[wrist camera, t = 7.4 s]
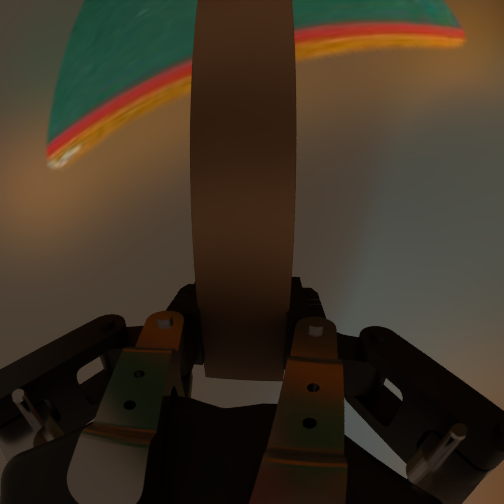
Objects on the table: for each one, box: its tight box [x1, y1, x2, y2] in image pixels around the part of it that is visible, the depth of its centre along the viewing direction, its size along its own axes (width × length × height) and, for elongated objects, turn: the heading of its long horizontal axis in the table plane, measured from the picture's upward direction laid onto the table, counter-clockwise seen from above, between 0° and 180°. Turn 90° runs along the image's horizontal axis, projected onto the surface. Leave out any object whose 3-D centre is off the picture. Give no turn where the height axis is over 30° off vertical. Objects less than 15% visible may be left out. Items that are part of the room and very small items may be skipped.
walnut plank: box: [190, 0, 296, 381], centre depth 9 cm, size 18×3×4 cm, turn 0°
